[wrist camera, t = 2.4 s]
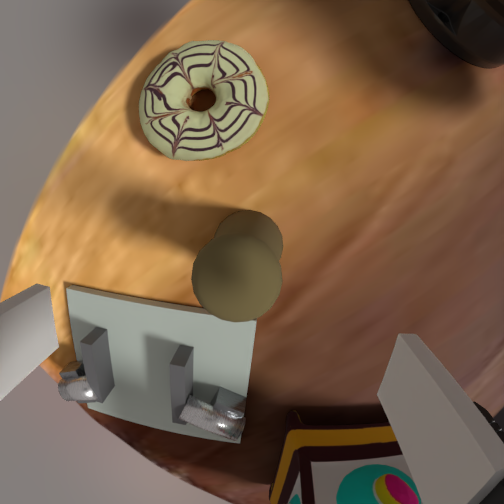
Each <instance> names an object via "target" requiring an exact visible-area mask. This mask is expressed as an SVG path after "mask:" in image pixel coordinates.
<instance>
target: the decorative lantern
mask: <svg viewBox="0 0 504 504" xmlns="http://www.w3.org/2000/svg"><path fill="white" fill-rule="evenodd" d="M269 500H270V502H271V504H423V503H422V500H421V498H420V495H419V493H418V490H417V487H416V485H415V482H414V480H413V477H412V475H411V472H410V470H409V467H408V465H407V462H406V460H405V458H404V455H403V453H402V450H401V448H400V446H399V443H398V441H397V439H396V436H395V434H394V432H393V429H392V427H391V425H390V422H386V423H373V424H356V425H306V424H303V423H302V422H301V420H300V417H299V415H298V413H297V412H296V411H290V412H289V413H288V415H287V419H286V433H285V438H284V443H283V447H282V451H281V455H280V459H279V463H278V467H277V471H276V474H275V478H274V482H273V483H272V484H271V486H270V490H269Z"/></svg>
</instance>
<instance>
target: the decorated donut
mask: <svg viewBox="0 0 504 504" xmlns="http://www.w3.org/2000/svg"><path fill="white" fill-rule="evenodd" d="M204 89H210V90H211V91H213V92H214V94H215V96H216V103H215V104H214V105H213V106H212V107H211V108H210V109H208V110H206V111H202V112H198V111H194V110H192V109H190V107H189V100H191V99H192V96H193V95H194V93H196V92H198V91H200V90H204ZM268 104H269V92H268V86H267V83H266V80H265V78H264V76H263V74H262V72H261V69H260V67H259V66H258V65H257V64H256V63H255V61H254V59H253V58H252V56H251V55H250V54H249V53H247V52H246V51H245V50H244V49H243V48H241V47H240V46H238V45H235V44H232V43H228V42H225V41H219V40H207V41H191V42H189V43H186V44H184V45H183V46H181V47H180V48H179V49H178V50H174V51H171V52H170V53H169V54H168V55H167V56H166V57H165V58H164V59H163V60H162V61H161V63H160V64H158V65H157V66H156V68H155V69H154V70H153V71H152V72H151V74H150V75H149V77H148V78H147V80H146V82H145V84H144V87H143V89H142V92H141V96H140V100H139V117H140V123H141V126H142V129H143V131H144V134H145V136H146V137H147V139H148V141H149V142H150V143H151V144H152V145H153V146H154V147H156V148H157V149H158V150H159V151H160V152H161V153H163V154H164V155H165V156H167V157H168V158H170V159H176V160H184V161H195V160H199V161H200V160H208V159H214V158H217V157H221V156H223V155H225V154H227V153H229V152H232V151H234V150H236V149H238V148H240V147H241V146H242V145H244V144H245V143H247V142H248V141H249V140H250V139H251V138H252V137H253V136H254V135H255V133H256V132H257V131H258V129H259V127H260V126H261V124H262V122H263V120H264V118H265V115H266V112H267V108H268Z"/></svg>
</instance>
